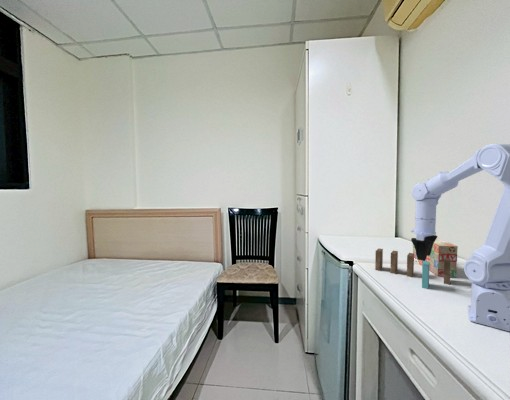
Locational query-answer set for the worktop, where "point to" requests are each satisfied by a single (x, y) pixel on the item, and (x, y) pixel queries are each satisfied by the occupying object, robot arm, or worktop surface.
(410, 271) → the walnut domino
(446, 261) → the walnut domino
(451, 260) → the stack of blocks
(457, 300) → the worktop surface
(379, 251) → the walnut domino
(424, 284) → the teal domino
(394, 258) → the walnut domino
